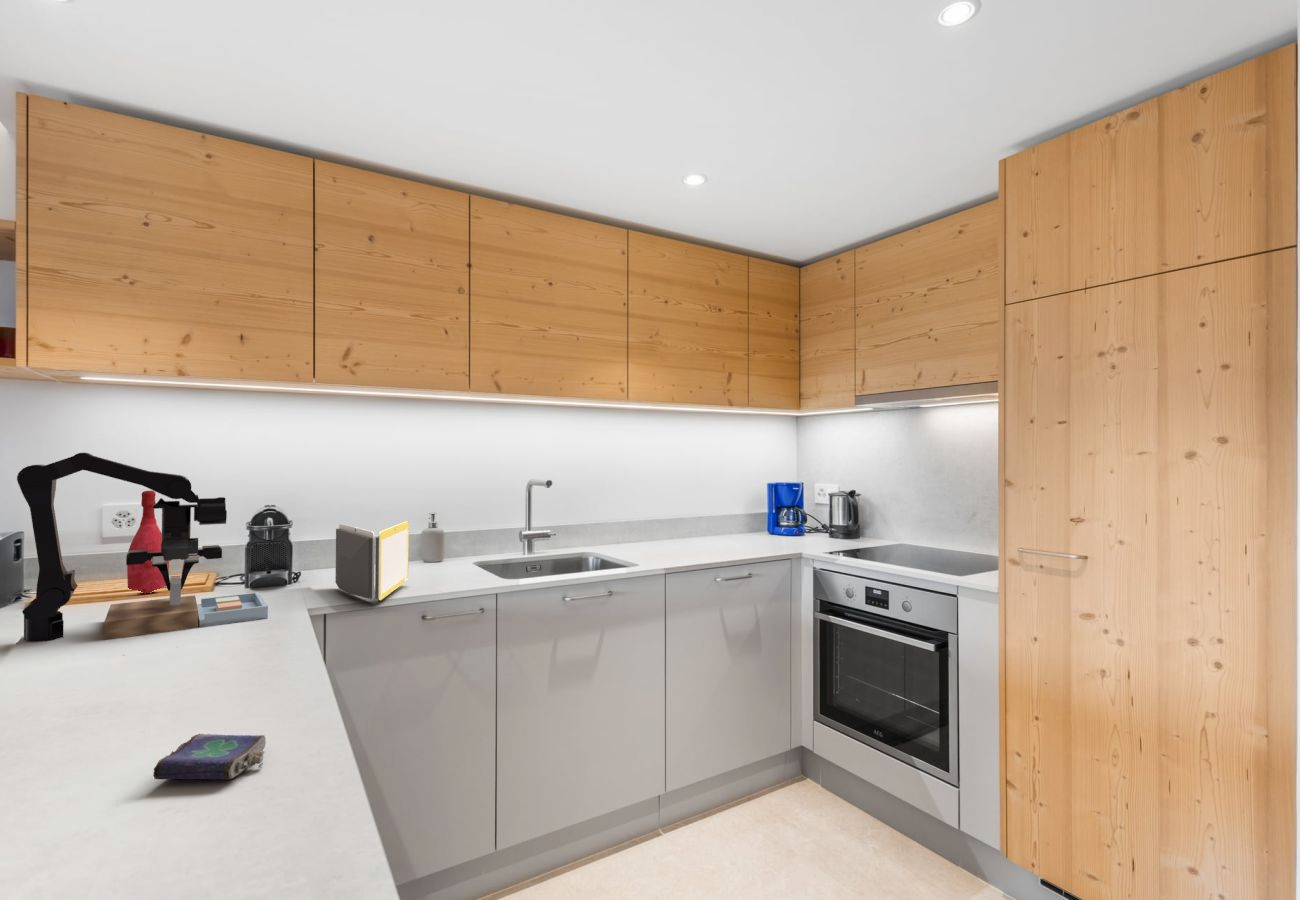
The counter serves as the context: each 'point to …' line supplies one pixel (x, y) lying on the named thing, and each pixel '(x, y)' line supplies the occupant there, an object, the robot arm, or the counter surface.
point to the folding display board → (371, 560)
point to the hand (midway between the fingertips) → (175, 589)
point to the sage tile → (226, 600)
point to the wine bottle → (145, 538)
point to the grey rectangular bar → (175, 590)
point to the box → (250, 610)
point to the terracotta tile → (229, 606)
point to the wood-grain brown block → (150, 617)
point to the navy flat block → (212, 757)
